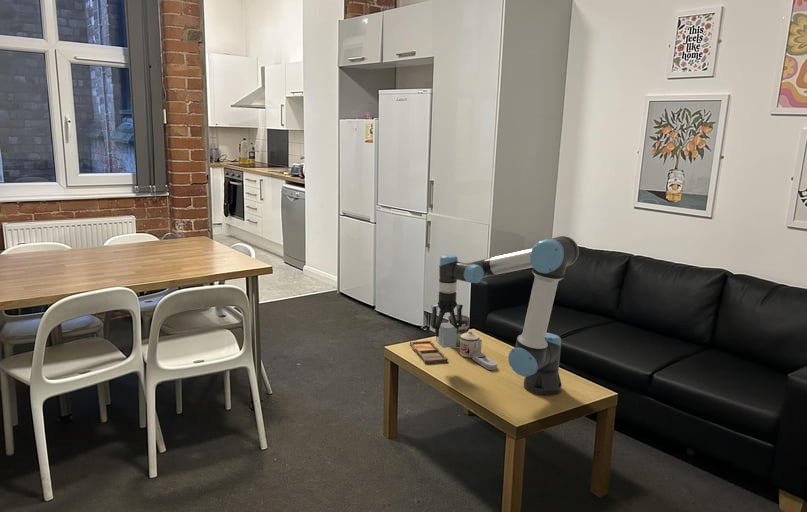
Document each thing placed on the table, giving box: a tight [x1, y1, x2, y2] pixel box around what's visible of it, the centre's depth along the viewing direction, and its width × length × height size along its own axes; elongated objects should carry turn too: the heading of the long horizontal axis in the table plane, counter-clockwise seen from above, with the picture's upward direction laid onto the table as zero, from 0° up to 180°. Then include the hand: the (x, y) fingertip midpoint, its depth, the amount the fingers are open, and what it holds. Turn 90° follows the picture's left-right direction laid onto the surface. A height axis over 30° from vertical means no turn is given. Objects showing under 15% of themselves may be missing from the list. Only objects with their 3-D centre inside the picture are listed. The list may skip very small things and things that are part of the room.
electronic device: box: [472, 339, 498, 371], centre depth 253 cm, size 5×10×15 cm
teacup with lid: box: [459, 330, 481, 359], centre depth 263 cm, size 12×9×12 cm
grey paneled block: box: [435, 322, 457, 349], centre depth 244 cm, size 9×6×8 cm, turn 16°
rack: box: [409, 340, 449, 365], centre depth 265 cm, size 24×11×2 cm, turn 16°
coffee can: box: [447, 314, 470, 350], centre depth 276 cm, size 10×10×14 cm
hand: (446, 342), depth 245 cm, fingers closed on grey paneled block, 6 cm apart
